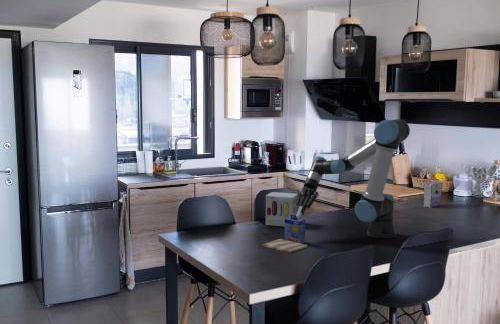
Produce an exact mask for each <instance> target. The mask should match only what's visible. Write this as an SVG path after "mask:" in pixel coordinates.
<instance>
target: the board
mask: <svg viewBox="0 0 500 324" xmlns="http://www.w3.org/2000/svg"><path fill="white" fill-rule="evenodd" d="M261 246H262V247H264V248H268V249H273V250H276V251H279V250H280V252H283V251H284V252H283V253H288V254H291V253H292V254H293V253H294V252H297V251H300V250H303V249H307V248H308V244H304V243H301V244H300V243H296V242H292V241H287V240H285V239H283V238H279V239H275V240H272V241H268V242H266V243H262V245H261Z"/></svg>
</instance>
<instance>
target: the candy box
mask: <svg viewBox="0 0 500 324" xmlns="http://www.w3.org/2000/svg"><path fill="white" fill-rule="evenodd" d="M442 184H443V183H442V182H441V181H440V182H439V181H431V182H427V183H424V184H423V204H422V206H423V208H428V209H433V208H436V207H439V206H441V205H442V190H443V189H442V187H443V185H442Z"/></svg>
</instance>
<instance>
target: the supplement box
mask: <svg viewBox="0 0 500 324" xmlns="http://www.w3.org/2000/svg"><path fill="white" fill-rule="evenodd" d="M297 194H298V193H294V192H292V193H291V192H280V191H279V192H277V191H272V192H269V193H268V194H266V195H265V226H275V227H284V228H285V218H289V217H291V216H290V215H295V216H296V214H297V209H298V206H297V205H296V200H297ZM292 217H294V216H292ZM295 218H296V217H295Z"/></svg>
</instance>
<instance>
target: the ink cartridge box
mask: <svg viewBox="0 0 500 324" xmlns="http://www.w3.org/2000/svg"><path fill="white" fill-rule="evenodd" d="M290 216H291V217H289V218H285V227H284V240H287V241H292V242H296V243H300V244H304V243H306V219H304V218H300V219H299V218H297V217H296V216H295V215H290ZM292 216H294V217H292ZM295 217H296V218H295Z"/></svg>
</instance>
